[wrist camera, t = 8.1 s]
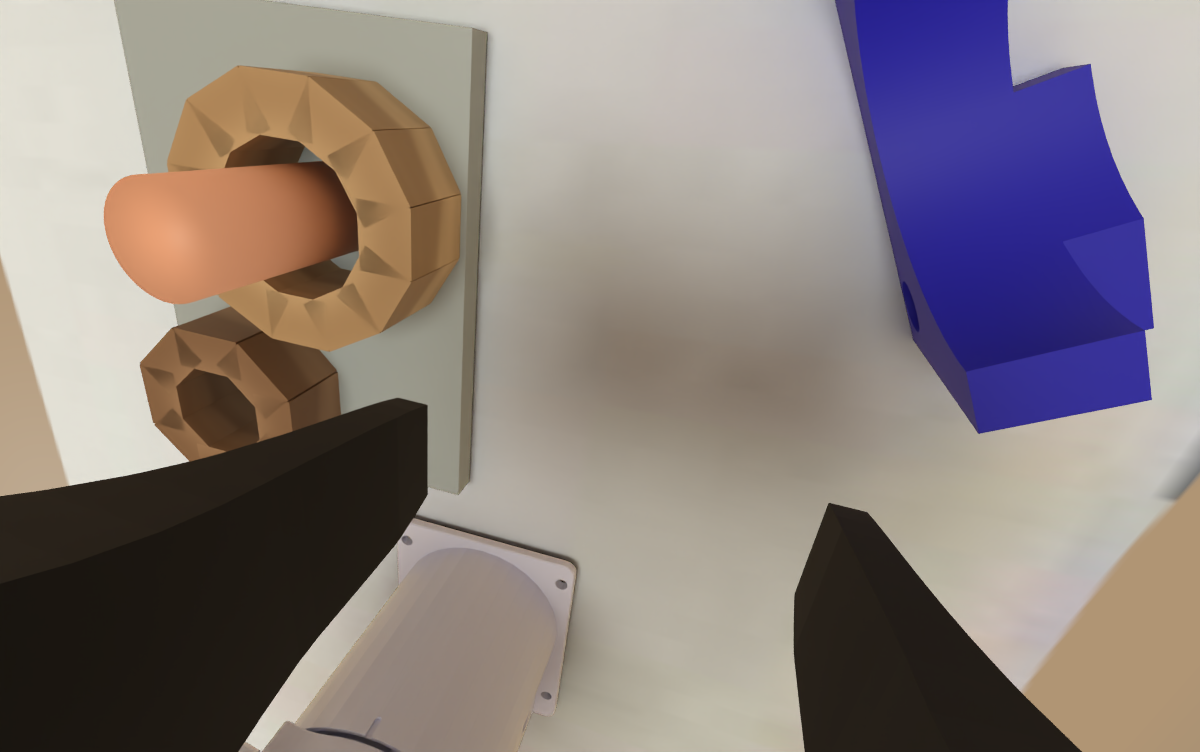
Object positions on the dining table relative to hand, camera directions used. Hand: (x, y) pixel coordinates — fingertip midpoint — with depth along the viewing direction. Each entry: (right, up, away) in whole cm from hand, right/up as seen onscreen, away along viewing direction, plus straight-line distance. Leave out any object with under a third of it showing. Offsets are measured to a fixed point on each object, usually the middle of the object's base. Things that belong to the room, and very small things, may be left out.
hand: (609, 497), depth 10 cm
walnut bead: (-13, +2, +13) cm, 18 cm away
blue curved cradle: (+9, +9, +5) cm, 14 cm away
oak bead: (-8, +8, +9) cm, 14 cm away
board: (-10, +6, +11) cm, 16 cm away
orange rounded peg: (-8, +8, +9) cm, 14 cm away
